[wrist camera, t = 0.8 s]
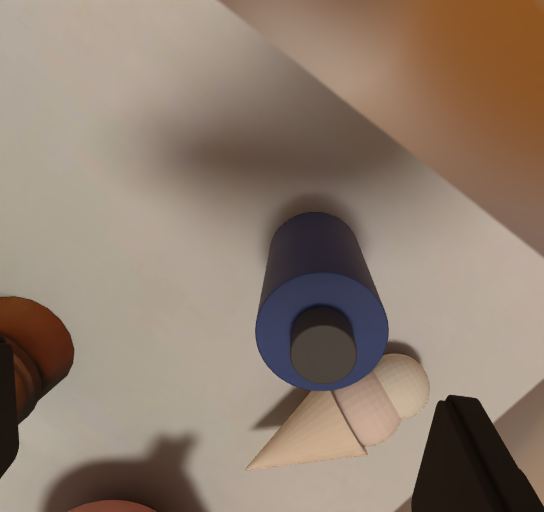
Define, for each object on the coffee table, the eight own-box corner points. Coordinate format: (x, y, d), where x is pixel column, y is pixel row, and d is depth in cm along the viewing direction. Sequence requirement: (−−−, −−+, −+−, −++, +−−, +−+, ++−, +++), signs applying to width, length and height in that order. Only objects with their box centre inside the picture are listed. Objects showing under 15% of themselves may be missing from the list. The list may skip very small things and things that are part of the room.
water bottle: (350, 202, 33) (384, 275, 20) (366, 287, 35) (407, 404, 22) (260, 222, 34) (235, 304, 21) (280, 304, 36) (269, 426, 23)
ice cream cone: (239, 431, 40) (400, 341, 39) (272, 507, 37) (445, 412, 37) (213, 430, 34) (400, 324, 34) (249, 519, 32) (453, 407, 31)
